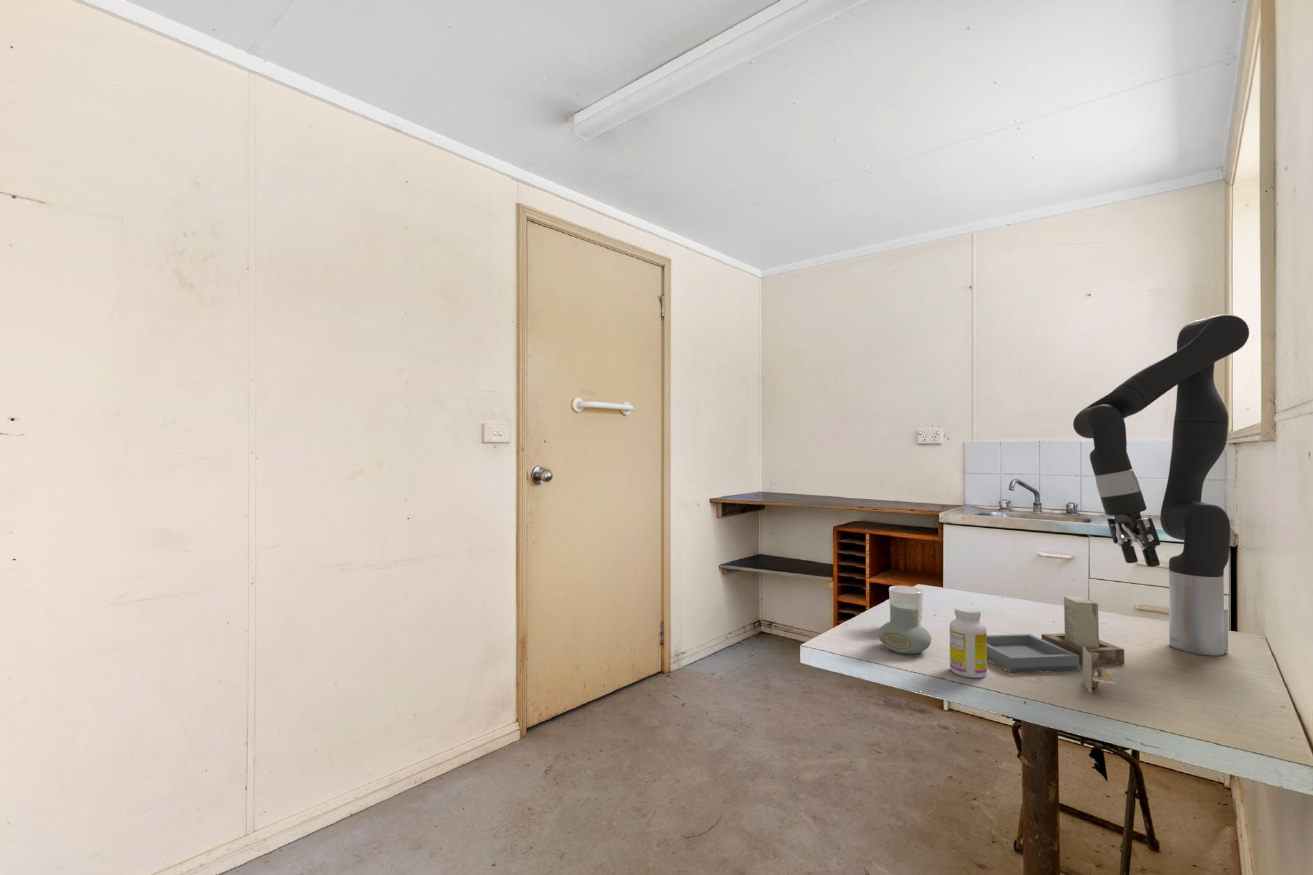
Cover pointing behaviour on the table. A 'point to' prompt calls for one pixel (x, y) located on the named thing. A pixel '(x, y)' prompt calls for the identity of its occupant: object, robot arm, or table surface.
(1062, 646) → the walnut collar
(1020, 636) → the slate tray
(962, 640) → the supplement bottle
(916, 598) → the white cup
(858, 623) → the table surface
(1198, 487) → the robot arm
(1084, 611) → the skincare box
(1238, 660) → the table surface
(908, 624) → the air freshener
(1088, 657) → the architectural model
